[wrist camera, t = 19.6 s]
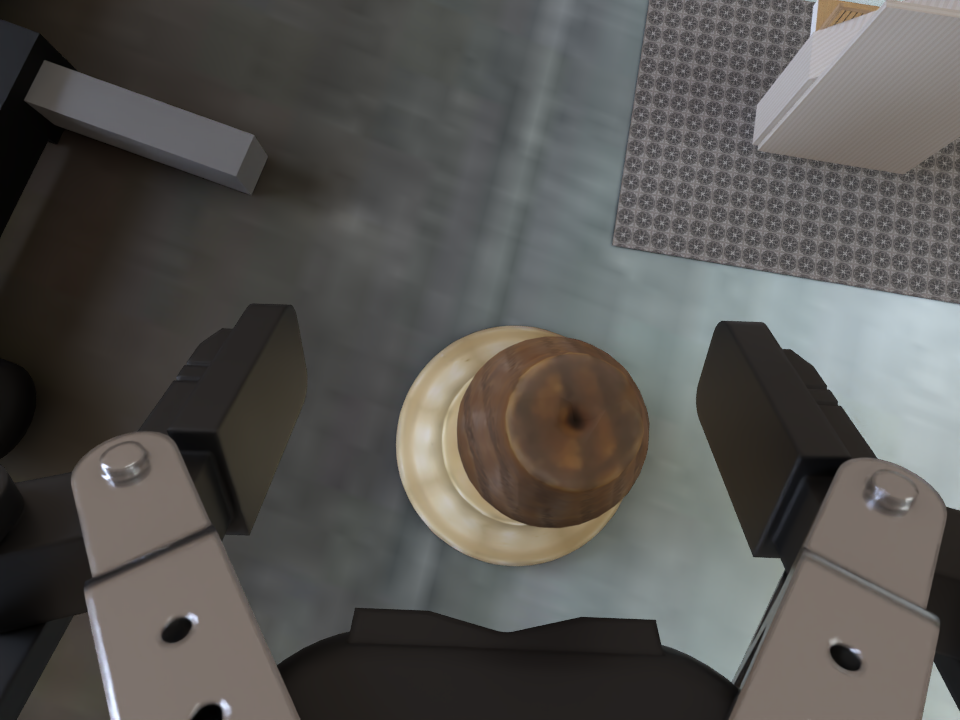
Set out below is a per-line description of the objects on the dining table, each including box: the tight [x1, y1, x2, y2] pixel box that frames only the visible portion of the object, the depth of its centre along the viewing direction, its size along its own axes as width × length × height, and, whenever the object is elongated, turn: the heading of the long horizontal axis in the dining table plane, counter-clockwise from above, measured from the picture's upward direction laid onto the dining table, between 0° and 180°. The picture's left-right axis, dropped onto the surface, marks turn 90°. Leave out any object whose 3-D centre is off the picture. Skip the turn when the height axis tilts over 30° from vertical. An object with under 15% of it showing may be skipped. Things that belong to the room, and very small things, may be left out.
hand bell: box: [396, 326, 649, 566], centre depth 13 cm, size 8×8×16 cm
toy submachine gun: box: [0, 19, 268, 459], centre depth 22 cm, size 3×20×16 cm
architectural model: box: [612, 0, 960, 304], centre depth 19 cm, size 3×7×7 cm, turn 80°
